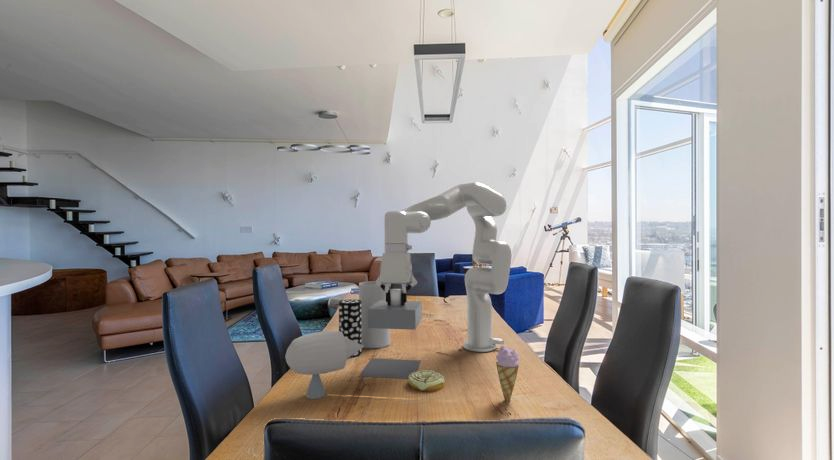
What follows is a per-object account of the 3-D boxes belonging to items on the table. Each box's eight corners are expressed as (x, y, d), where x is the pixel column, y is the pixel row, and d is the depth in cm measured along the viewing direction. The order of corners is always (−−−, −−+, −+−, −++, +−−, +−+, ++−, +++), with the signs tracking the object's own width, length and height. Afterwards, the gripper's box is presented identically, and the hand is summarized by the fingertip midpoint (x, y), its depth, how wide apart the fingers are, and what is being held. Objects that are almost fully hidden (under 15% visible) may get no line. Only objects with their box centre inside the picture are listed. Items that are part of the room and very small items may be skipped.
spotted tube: (357, 359, 144) (356, 303, 144) (335, 357, 145) (335, 303, 145) (364, 352, 152) (364, 299, 152) (344, 351, 153) (343, 299, 153)
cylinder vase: (396, 343, 164) (396, 282, 164) (377, 351, 153) (377, 286, 153) (372, 339, 170) (372, 280, 170) (352, 346, 160) (352, 283, 160)
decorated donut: (422, 397, 111) (422, 384, 111) (401, 385, 120) (401, 372, 120) (451, 388, 117) (451, 375, 117) (429, 377, 126) (429, 365, 126)
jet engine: (353, 406, 105) (352, 340, 105) (279, 404, 107) (279, 338, 107) (365, 384, 120) (365, 326, 120) (300, 382, 122) (300, 325, 122)
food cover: (421, 318, 137) (421, 286, 137) (415, 329, 123) (415, 293, 123) (379, 317, 140) (379, 286, 140) (368, 328, 125) (367, 292, 125)
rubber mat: (421, 361, 141) (421, 360, 141) (414, 380, 123) (414, 379, 123) (371, 359, 143) (371, 358, 143) (357, 377, 126) (357, 376, 126)
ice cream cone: (492, 395, 112) (492, 342, 112) (514, 394, 113) (514, 341, 113) (499, 405, 106) (499, 349, 105) (522, 404, 106) (522, 348, 106)
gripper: (422, 248, 134) (423, 303, 134) (374, 248, 136) (374, 302, 136) (419, 249, 126) (419, 307, 126) (368, 249, 129) (368, 306, 129)
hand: (396, 304), depth 131 cm, fingers closed on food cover, 4 cm apart
